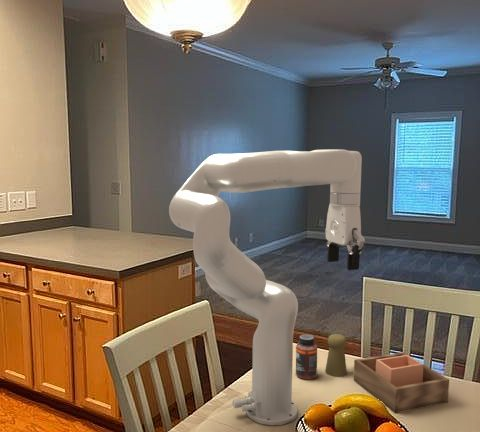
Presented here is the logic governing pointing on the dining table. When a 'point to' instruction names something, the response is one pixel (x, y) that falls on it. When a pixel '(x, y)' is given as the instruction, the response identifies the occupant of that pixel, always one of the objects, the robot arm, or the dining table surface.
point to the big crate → (403, 396)
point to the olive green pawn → (336, 356)
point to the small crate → (400, 370)
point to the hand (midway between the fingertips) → (342, 265)
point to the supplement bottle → (306, 357)
